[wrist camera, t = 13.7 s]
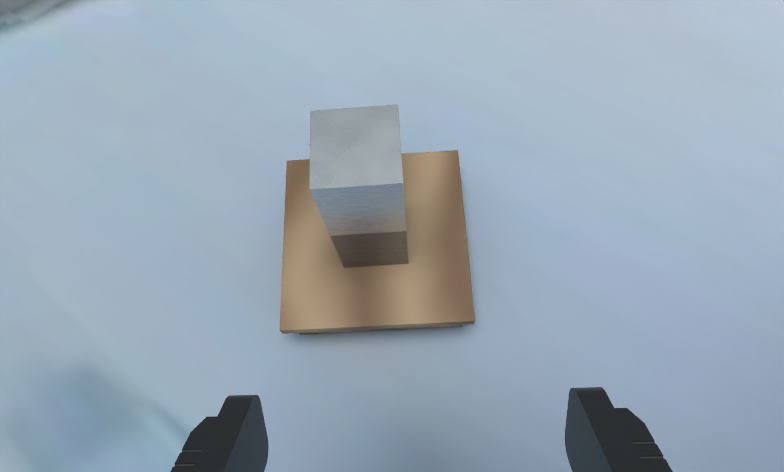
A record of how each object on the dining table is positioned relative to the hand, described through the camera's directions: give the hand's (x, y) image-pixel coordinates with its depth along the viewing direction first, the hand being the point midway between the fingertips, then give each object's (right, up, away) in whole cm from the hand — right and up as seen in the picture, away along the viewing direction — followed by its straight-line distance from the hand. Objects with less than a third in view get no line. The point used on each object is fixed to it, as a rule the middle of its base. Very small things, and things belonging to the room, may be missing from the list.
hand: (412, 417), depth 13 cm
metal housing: (-2, +5, +23) cm, 24 cm away
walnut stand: (-2, +3, +27) cm, 27 cm away
